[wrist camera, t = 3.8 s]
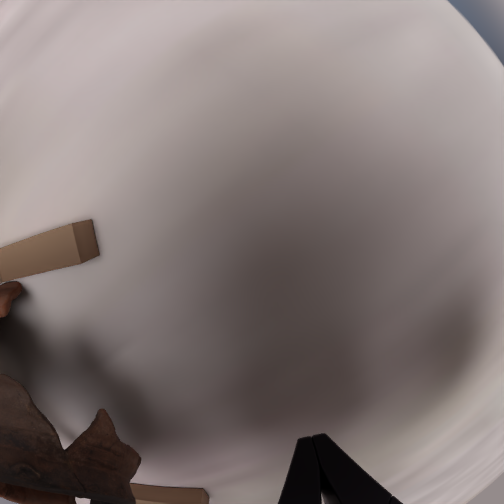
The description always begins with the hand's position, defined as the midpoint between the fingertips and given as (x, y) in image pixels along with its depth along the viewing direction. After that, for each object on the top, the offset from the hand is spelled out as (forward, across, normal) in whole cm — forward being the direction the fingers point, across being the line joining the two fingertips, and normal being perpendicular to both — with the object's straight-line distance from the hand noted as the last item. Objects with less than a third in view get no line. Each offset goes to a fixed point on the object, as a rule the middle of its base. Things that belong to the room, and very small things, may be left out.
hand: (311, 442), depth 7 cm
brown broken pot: (+3, +12, -1) cm, 12 cm away
